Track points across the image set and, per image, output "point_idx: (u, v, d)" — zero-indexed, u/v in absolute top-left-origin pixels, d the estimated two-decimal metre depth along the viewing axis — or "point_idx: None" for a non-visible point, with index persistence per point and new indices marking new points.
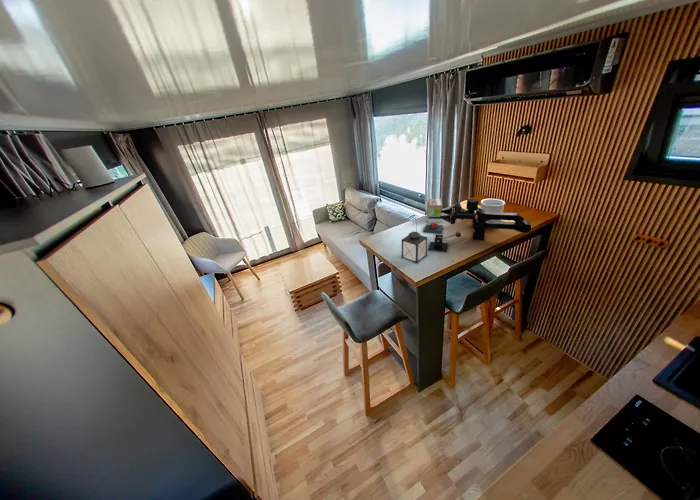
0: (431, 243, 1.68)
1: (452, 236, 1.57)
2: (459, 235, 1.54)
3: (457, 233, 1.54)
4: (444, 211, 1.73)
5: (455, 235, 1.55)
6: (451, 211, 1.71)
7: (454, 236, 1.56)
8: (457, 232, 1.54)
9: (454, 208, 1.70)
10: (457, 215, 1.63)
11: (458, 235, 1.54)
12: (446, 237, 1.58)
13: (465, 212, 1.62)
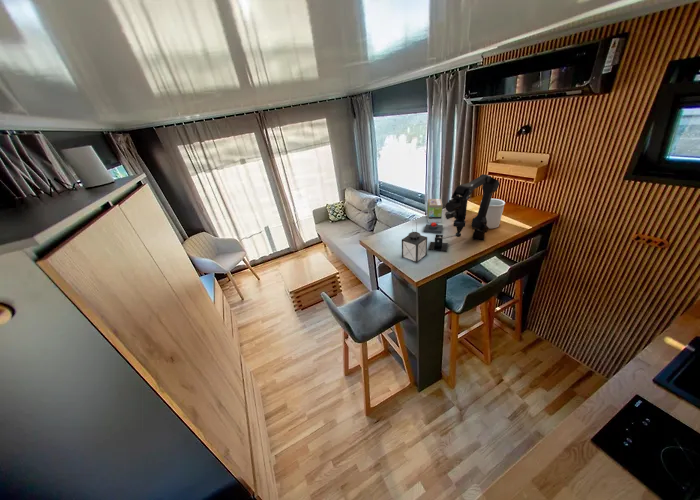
0: (431, 243, 1.68)
1: (452, 236, 1.57)
2: (459, 235, 1.54)
3: (457, 233, 1.54)
4: None
5: (455, 235, 1.55)
6: None
7: (454, 236, 1.56)
8: None
9: None
10: (459, 216, 1.47)
11: (458, 235, 1.54)
12: (446, 237, 1.58)
13: None
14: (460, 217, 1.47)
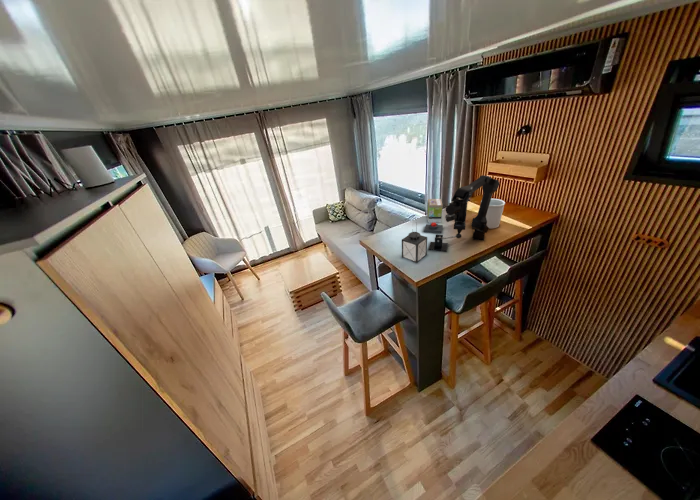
0: (431, 243, 1.68)
1: (452, 237, 1.57)
2: (459, 236, 1.54)
3: (458, 234, 1.54)
4: (459, 230, 1.54)
5: (455, 236, 1.56)
6: None
7: (454, 237, 1.56)
8: None
9: None
10: (459, 219, 1.47)
11: (458, 236, 1.54)
12: (446, 238, 1.59)
13: None
14: (460, 220, 1.47)
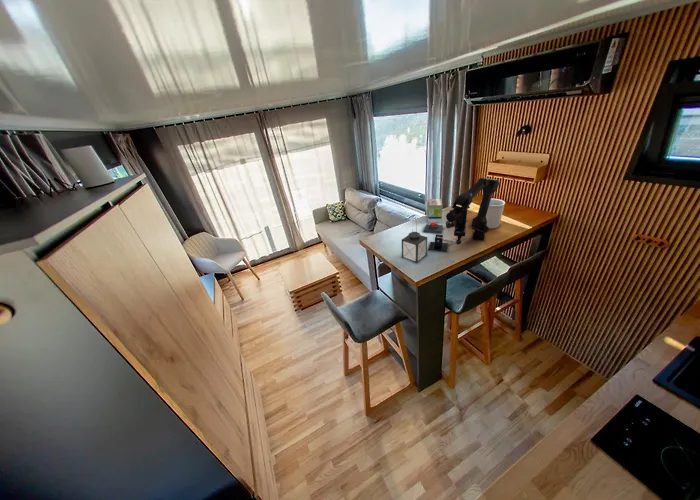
0: (431, 243, 1.68)
1: (452, 241, 1.58)
2: (459, 243, 1.56)
3: (458, 240, 1.56)
4: (459, 236, 1.56)
5: (455, 241, 1.58)
6: None
7: None
8: None
9: None
10: (459, 225, 1.49)
11: (458, 243, 1.56)
12: (446, 240, 1.59)
13: None
14: (460, 226, 1.49)
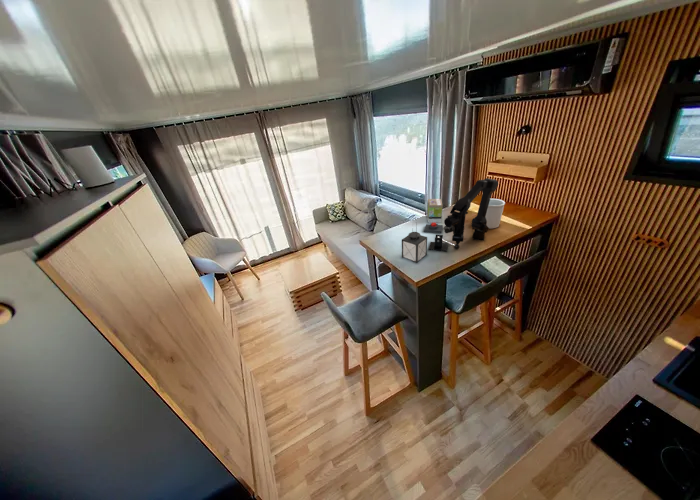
0: (431, 243, 1.68)
1: (451, 244, 1.60)
2: (457, 248, 1.58)
3: (457, 245, 1.58)
4: (457, 241, 1.58)
5: (454, 245, 1.59)
6: None
7: None
8: None
9: None
10: (457, 230, 1.51)
11: (457, 247, 1.58)
12: (446, 242, 1.60)
13: None
14: (458, 232, 1.51)
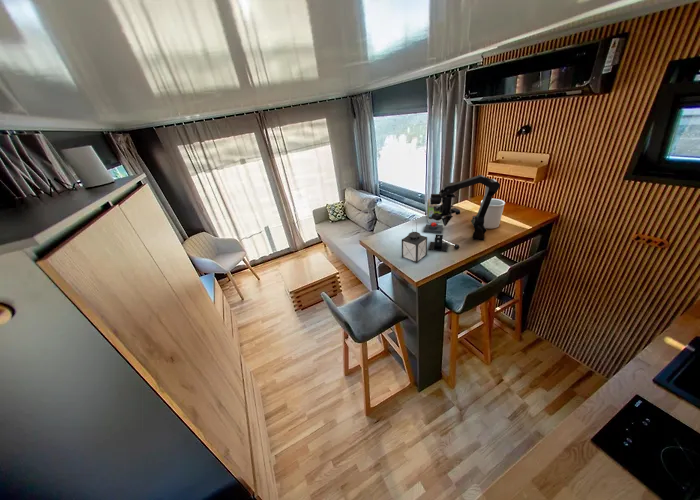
0: (431, 243, 1.68)
1: (451, 244, 1.60)
2: (457, 248, 1.58)
3: (457, 245, 1.58)
4: None
5: (454, 245, 1.59)
6: (446, 216, 1.65)
7: None
8: (457, 244, 1.58)
9: None
10: (442, 211, 1.63)
11: (457, 247, 1.58)
12: (446, 242, 1.60)
13: None
14: (442, 212, 1.62)
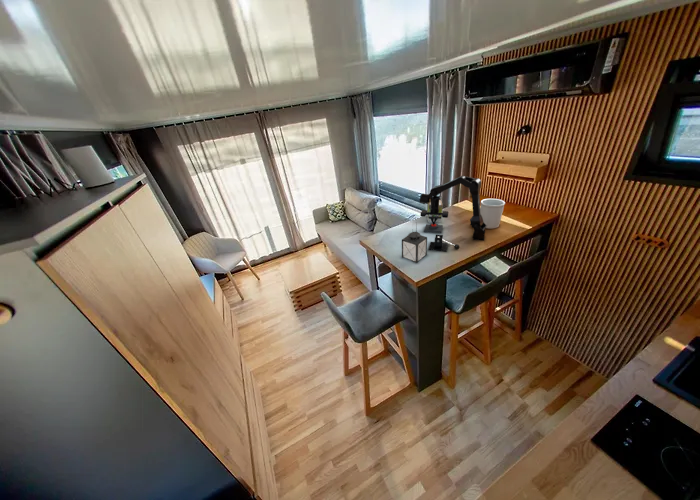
0: (431, 243, 1.68)
1: (451, 244, 1.60)
2: (457, 248, 1.58)
3: (457, 245, 1.58)
4: None
5: (454, 245, 1.59)
6: (435, 216, 1.80)
7: None
8: (457, 244, 1.58)
9: None
10: None
11: (457, 247, 1.58)
12: (446, 242, 1.60)
13: None
14: (430, 211, 1.80)
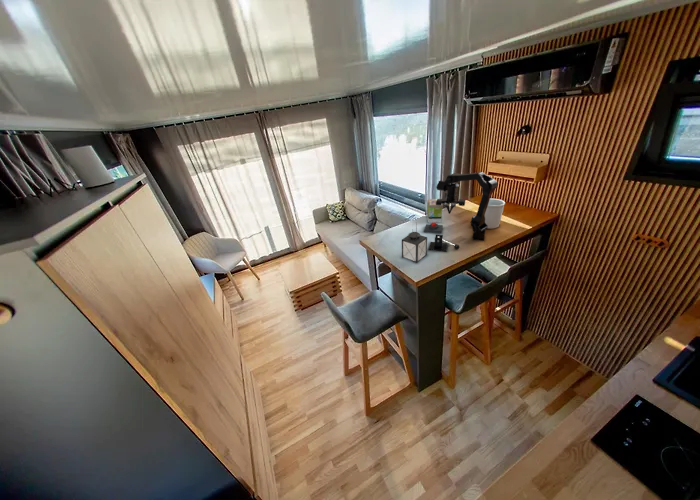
0: (431, 243, 1.68)
1: (451, 244, 1.60)
2: (457, 248, 1.58)
3: (457, 245, 1.58)
4: None
5: (454, 245, 1.59)
6: (451, 204, 1.76)
7: None
8: (457, 244, 1.58)
9: None
10: None
11: (457, 247, 1.58)
12: (446, 242, 1.60)
13: None
14: (446, 199, 1.75)
